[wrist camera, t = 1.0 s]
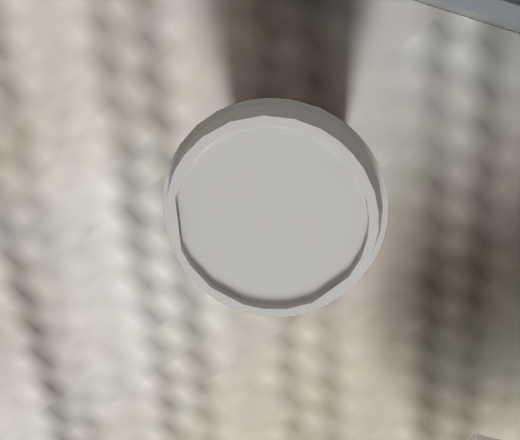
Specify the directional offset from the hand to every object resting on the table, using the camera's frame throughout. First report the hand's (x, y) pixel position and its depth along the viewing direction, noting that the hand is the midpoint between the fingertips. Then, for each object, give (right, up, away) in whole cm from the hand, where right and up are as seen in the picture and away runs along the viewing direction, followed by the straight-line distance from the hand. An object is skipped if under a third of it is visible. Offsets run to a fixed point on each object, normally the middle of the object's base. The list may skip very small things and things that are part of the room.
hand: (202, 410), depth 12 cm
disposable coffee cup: (+3, +9, +19) cm, 21 cm away
